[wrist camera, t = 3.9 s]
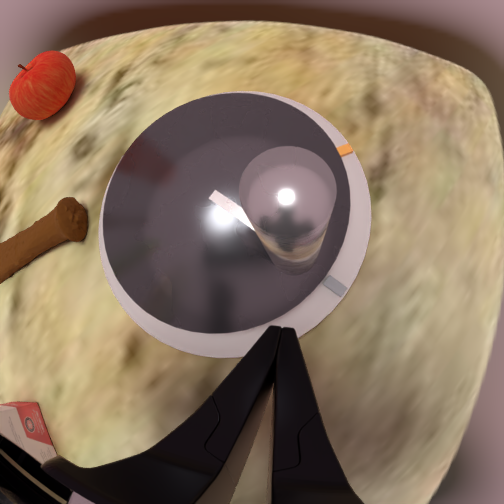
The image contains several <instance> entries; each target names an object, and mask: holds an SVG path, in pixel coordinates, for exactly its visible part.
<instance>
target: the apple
mask: <svg viewBox="0 0 504 504" xmlns="http://www.w3.org/2000/svg"><path fill="white" fill-rule="evenodd" d="M18 67H20V68H22V69H23V70H22V71H21V72H20V73H19V74H18V75H17V76H16V78H15V79H14V81H13V82H12V84H11V87H10V91H9V97H10V101H11V103H12V105H13V107H14V109H15V110H16V111H17V112H18V113H19V114H20V115H21V116H23V117H25V118H28V119H32V120H42V119H46V118H48V117H50V116H52V115H54V114H55V113H56V112H58V111H59V110H60V109H61V108H62V107H63V106H64V105H65V104H66V102H67V101H68V99H69V97H70V95H71V93H72V91H73V89H74V87H75V82H76V74H75V69H74V66H73V64H72V62H71V61H70V59H69V58H68V57H67V56H66V55H65V54H63V53H61V52H57V51H46V52H43V53H41V54H39V55H38V56H36V57H35V58H34V59H33V60H32V61H31V62H30V63H29V64H28V65H27V66H26V67H23V66H22V65H21V64H19V65H18Z"/></svg>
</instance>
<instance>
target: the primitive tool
mask: <svg viewBox="0 0 504 504" xmlns="http://www.w3.org/2000/svg"><path fill="white" fill-rule="evenodd" d="M86 233H87V215H86V212H85V209H84V207H83V206H82V205H81V204H79V203H78V201H76V199H75V198H73V197H66V198H63V199H62V200H60V201H59V202H58V204H57V206H56V207H55V208H54V210H52V211H51V212H50V213H49V214H48V215H47V216H44V217H43V218H41V219H40V220H39V221H36V222H35V223H34V225H32V226H31V227H29V228H27V229H26V230H24V231H21V232H19V233H18V234H16V235H15V236H13V237H12V238H9V239H8V240H7V241H4V242H3V243H0V284H1V283H2V282H3V281H4V280H6V279H7V278H9V277H10V276H11V275H12V274H13V273H14V272H16V271H18V270H19V269H20V268H22V267H23V266H24V265H26V264H27V263H28V262H31V261H32V260H33V259H34V258H35V257H36V256H38V255H39V254H41V253H42V252H45V251H46V250H48V249H49V248H51V247H53V246H56V245H57V244H58V243H61V242H63V241H66V240H68V239H69V240H71V241H74V242H79V241H81V240H82V239H84V237H85V236H86Z"/></svg>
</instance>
